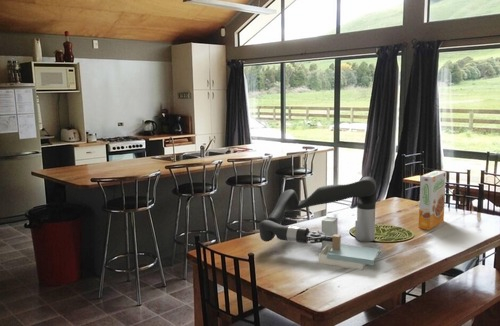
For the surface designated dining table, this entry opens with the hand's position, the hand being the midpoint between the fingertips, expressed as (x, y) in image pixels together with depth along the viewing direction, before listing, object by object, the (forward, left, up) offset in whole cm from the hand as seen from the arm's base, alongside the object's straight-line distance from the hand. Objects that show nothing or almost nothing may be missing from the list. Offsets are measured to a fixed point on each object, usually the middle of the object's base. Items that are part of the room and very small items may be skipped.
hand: (333, 239), depth 210 cm
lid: (+8, +5, -7) cm, 12 cm away
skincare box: (-14, +11, -10) cm, 20 cm away
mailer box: (+4, +3, -10) cm, 11 cm away
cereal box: (-8, +86, -10) cm, 87 cm away
